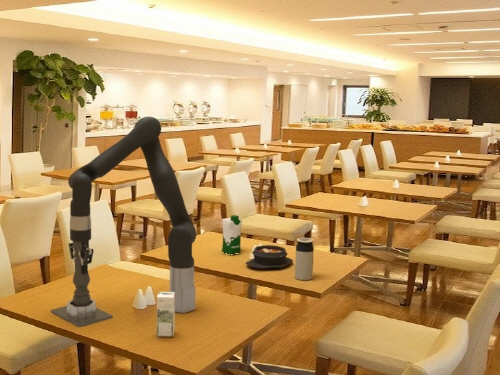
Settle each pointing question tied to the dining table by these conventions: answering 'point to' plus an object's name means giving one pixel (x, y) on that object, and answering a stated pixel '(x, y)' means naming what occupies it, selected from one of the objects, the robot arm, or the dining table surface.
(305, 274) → the travel mug
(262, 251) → the casserole
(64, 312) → the steel collar
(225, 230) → the milk carton
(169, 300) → the syrup box
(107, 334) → the dining table surface
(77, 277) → the candle holder
